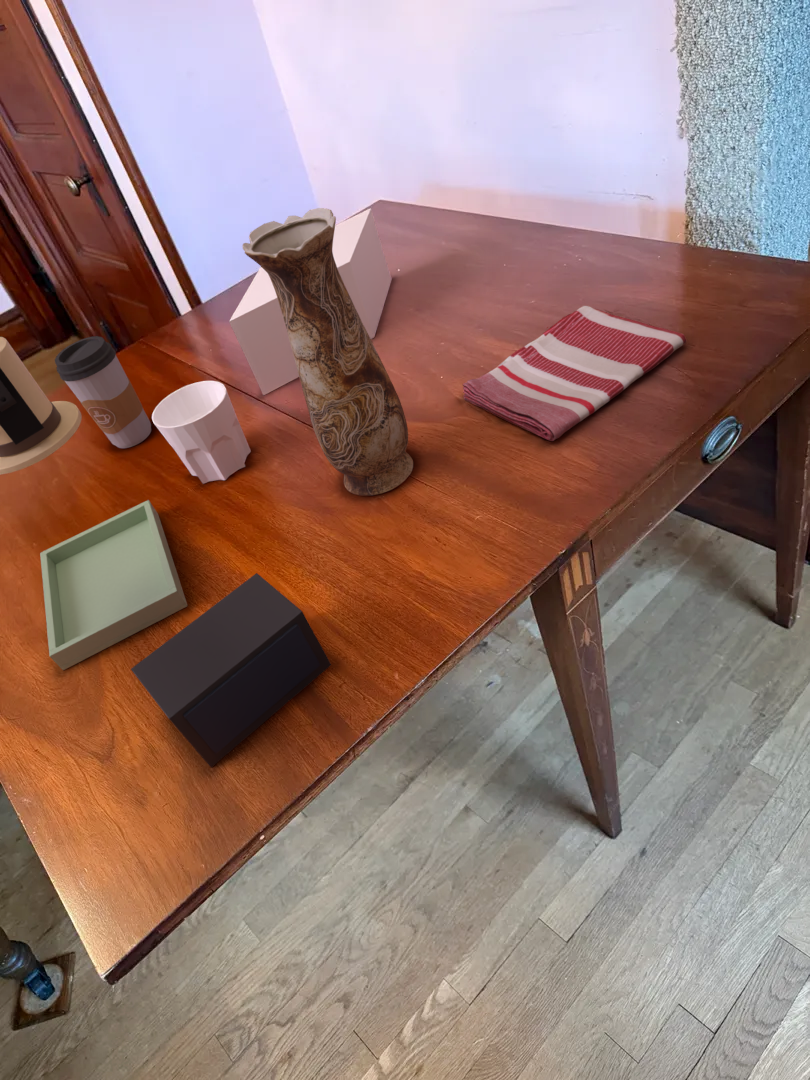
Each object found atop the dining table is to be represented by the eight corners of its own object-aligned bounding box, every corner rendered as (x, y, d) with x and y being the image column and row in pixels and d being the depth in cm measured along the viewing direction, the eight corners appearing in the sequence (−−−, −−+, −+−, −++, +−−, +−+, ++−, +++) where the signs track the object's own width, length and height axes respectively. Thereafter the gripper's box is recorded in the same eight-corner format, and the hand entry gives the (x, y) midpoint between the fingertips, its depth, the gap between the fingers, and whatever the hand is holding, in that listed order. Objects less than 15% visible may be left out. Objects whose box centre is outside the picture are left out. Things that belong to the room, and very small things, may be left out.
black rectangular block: (212, 769, 66) (170, 720, 61) (172, 717, 71) (130, 668, 66) (333, 666, 71) (303, 612, 65) (287, 625, 76) (256, 572, 71)
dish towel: (461, 401, 97) (456, 384, 95) (587, 315, 104) (585, 298, 102) (554, 447, 85) (551, 428, 83) (689, 347, 92) (689, 327, 90)
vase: (343, 511, 87) (238, 268, 67) (331, 460, 95) (235, 230, 75) (427, 481, 87) (347, 229, 67) (409, 433, 95) (332, 195, 75)
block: (224, 388, 117) (188, 317, 109) (353, 277, 134) (331, 208, 126) (305, 402, 107) (273, 325, 99) (433, 280, 125) (414, 206, 116)
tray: (187, 606, 82) (176, 590, 81) (63, 670, 80) (49, 656, 78) (158, 514, 97) (148, 499, 95) (51, 566, 94) (39, 552, 93)
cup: (269, 455, 100) (239, 393, 93) (207, 497, 96) (172, 436, 90) (234, 432, 106) (204, 373, 100) (175, 471, 103) (140, 412, 96)
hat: (53, 466, 63) (-11, 381, 57) (-43, 482, 66) (-114, 402, 60) (98, 398, 70) (45, 316, 64) (10, 415, 73) (-49, 337, 67)
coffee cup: (97, 455, 112) (39, 370, 102) (124, 421, 118) (71, 337, 108) (143, 451, 109) (88, 363, 99) (168, 417, 115) (118, 330, 105)
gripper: (-110, 137, 46) (91, 433, 61) (-152, 125, 59) (23, 371, 74) (-234, 190, 43) (8, 485, 59) (-249, 166, 57) (-48, 412, 72)
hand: (16, 421), depth 67 cm, fingers closed on hat, 7 cm apart
